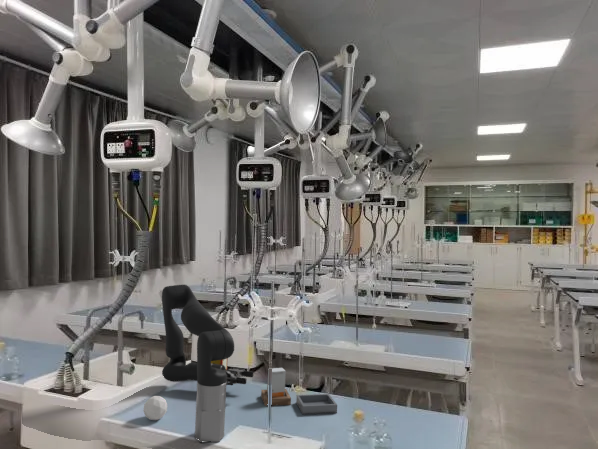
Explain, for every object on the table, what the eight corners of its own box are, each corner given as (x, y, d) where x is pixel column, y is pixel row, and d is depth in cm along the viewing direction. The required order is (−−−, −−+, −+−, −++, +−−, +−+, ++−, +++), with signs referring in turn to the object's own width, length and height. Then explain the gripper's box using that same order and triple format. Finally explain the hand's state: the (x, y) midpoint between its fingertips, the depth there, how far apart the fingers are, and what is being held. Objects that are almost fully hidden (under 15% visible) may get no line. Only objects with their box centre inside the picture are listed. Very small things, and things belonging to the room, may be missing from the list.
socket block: (290, 404, 171) (290, 398, 171) (264, 405, 169) (265, 399, 169) (285, 395, 180) (286, 388, 180) (261, 396, 178) (261, 389, 178)
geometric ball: (148, 428, 152) (134, 410, 151) (162, 411, 159) (148, 394, 158) (162, 422, 148) (148, 403, 148) (176, 405, 156) (162, 387, 155)
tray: (336, 412, 165) (337, 404, 165) (302, 414, 162) (303, 406, 162) (328, 401, 176) (328, 393, 176) (296, 402, 173) (296, 395, 173)
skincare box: (270, 403, 171) (271, 371, 171) (266, 399, 175) (267, 368, 175) (284, 401, 174) (286, 370, 174) (280, 397, 178) (282, 367, 178)
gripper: (204, 369, 173) (244, 373, 170) (218, 359, 187) (255, 363, 184) (203, 388, 173) (243, 393, 170) (217, 377, 187) (254, 381, 184)
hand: (249, 377), depth 177 cm, fingers open, 8 cm apart
